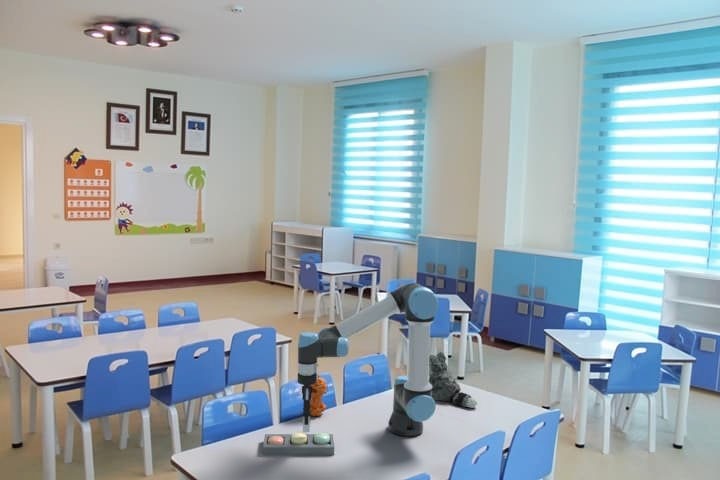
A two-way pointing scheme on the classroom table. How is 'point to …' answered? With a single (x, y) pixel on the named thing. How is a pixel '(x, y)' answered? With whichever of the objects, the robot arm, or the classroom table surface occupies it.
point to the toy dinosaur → (318, 397)
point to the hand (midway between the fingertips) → (306, 431)
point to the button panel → (297, 446)
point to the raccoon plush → (446, 383)
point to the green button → (321, 438)
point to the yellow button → (298, 438)
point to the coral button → (275, 440)
